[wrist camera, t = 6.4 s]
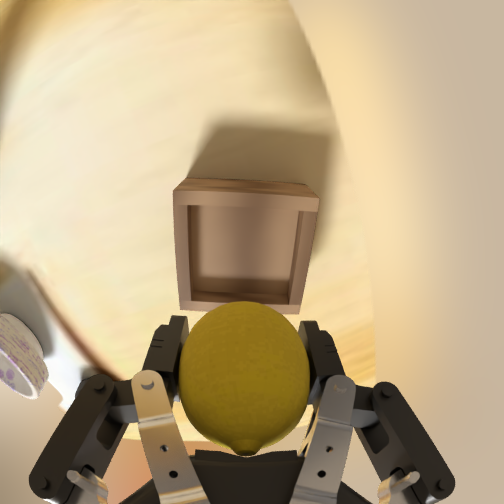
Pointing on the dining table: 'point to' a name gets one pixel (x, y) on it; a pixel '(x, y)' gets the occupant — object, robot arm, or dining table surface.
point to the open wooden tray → (242, 242)
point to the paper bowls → (21, 358)
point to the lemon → (244, 377)
